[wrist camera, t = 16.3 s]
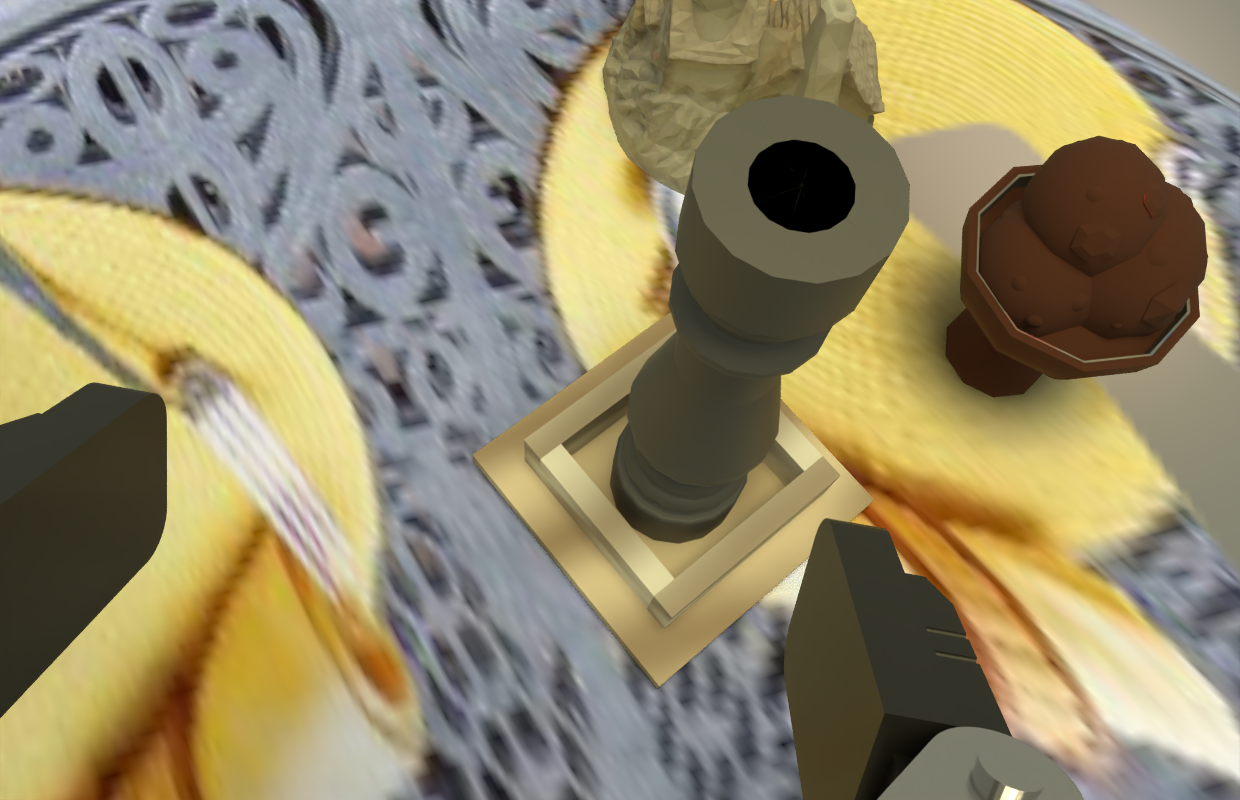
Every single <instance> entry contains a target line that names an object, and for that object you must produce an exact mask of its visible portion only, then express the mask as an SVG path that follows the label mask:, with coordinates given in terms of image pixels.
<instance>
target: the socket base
mask: <svg viewBox="0 0 1240 800" xmlns="http://www.w3.org/2000/svg"><path fill="white" fill-rule="evenodd" d="M676 331H677V330H676V327H675V324H674V321H673V318H672V314H671V312H670V313H669V314H667V315H666V316H664V317H663V318H662V319H660V320H659V321H657V322H656V323H655V324H653V325H652V326H651V327H649V328H648V329H646V330H645V331H644V332H642V333H641V334H639V335H638V336H637V337H635V338H634V339H633V340H631V341H630V342H628V343H627V344H626V345H624V346H623V347H621V348H620V349H619V350H617V351H616V352H615V353H613V354H612V355H610V356H609V357H608V358H606V359H605V360H603V361H602V362H601V363H599V364H598V365H596V366H595V367H594V368H592V369H591V370H590V371H588V372H587V373H585V374H584V375H583V376H581V377H580V378H578V379H577V380H576V381H574V382H573V383H572V384H570V385H569V386H567V387H566V388H565V389H563V390H562V391H560V392H559V393H558V394H556V395H555V396H554V397H552V398H551V399H549V400H548V401H547V402H545V403H544V404H542V405H541V406H540V407H538V408H537V409H536V410H534V411H533V412H531V413H530V414H529V415H527V416H526V417H524V418H523V419H522V420H520V421H519V422H518V423H516V424H515V425H513V426H512V427H511V428H509V429H508V430H506V431H505V432H504V433H502V434H501V435H499V436H498V437H497V438H495V439H494V440H493V441H491V442H490V443H488V444H487V445H486V446H484V447H483V448H481V449H480V450H479V451H477V452H476V453H475V454H473V460H474V463H475V464H476V465H477V466H478V468H479V469H480V470H481V471H482V472H483V474H484V475H485V476H486V477H487V479H488V480H489V481H490V482H491V484H492V485H493V486H494V487H495V489H496V490H497V491H498V492H499V494H500V495H501V496H502V497H503V498H504V500H505V501H506V502H507V503H508V505H509V506H510V507H511V508H512V510H513V511H514V512H515V513H516V515H517V516H518V517H519V518H520V520H521V521H522V522H523V523H524V525H525V526H526V527H527V528H528V529H529V531H530V532H531V533H532V534H533V536H534V537H535V538H536V539H537V541H538V542H539V543H540V544H541V546H542V547H543V548H544V549H545V551H546V552H547V553H548V554H549V556H550V557H551V558H552V559H553V560H554V562H555V563H556V564H557V565H558V567H559V568H560V569H561V570H562V572H563V573H564V574H565V575H566V577H567V578H568V579H569V580H570V582H571V583H572V584H573V585H574V587H575V588H576V589H577V590H578V591H579V593H580V594H581V595H582V596H583V598H584V599H585V600H586V601H587V603H588V604H589V605H590V606H591V608H592V609H593V610H594V611H595V613H596V614H597V615H598V616H599V617H600V619H601V620H602V621H603V622H604V624H605V625H606V626H607V627H608V629H609V630H610V631H611V632H612V634H613V635H614V636H615V637H616V639H617V640H618V641H619V642H620V644H621V645H622V646H623V647H624V648H625V650H626V651H627V652H628V653H629V655H630V656H631V657H632V658H633V660H634V661H635V662H636V663H637V665H638V666H639V667H640V668H641V670H642V671H643V672H644V673H645V675H646V676H647V677H648V678H649V679H650V681H651V682H652V683H653V684H654V686H655V687H656V688H659V687H660V686H661V685H662V684H663V683H664V682H666V681H667V680H668V679H669V678H670V677H671V676H672V675H674V674H675V673H676V672H677V671H678V670H679V669H681V668H682V667H683V666H684V665H685V664H686V663H687V662H689V661H690V660H691V659H692V658H693V657H694V656H696V655H697V654H698V653H699V652H700V651H701V650H702V649H704V648H705V647H706V646H707V645H708V644H709V643H710V642H712V641H713V640H714V639H715V638H716V637H717V636H719V635H720V634H721V633H722V632H723V631H724V630H725V629H727V628H728V627H729V626H730V625H731V624H732V623H734V622H735V621H736V620H737V619H738V618H739V617H740V616H742V615H743V614H744V613H745V612H746V611H747V610H749V609H750V608H751V607H752V606H753V605H754V604H755V603H757V602H758V601H759V600H760V599H761V598H762V597H763V596H765V595H766V594H767V593H768V592H769V591H770V590H772V589H773V588H774V587H775V586H776V585H777V584H778V583H780V582H781V581H782V580H783V579H784V578H785V577H787V576H788V575H789V574H790V573H791V572H792V571H793V570H795V569H796V568H797V567H798V566H799V565H800V564H802V563H803V562H804V561H805V560H806V559H807V558H808V557H809V556H810V553H811V549H812V546H813V542H814V539H815V536H816V533H817V530H818V528H819V525H820V524H821V522H822V521H823V520H824V519H825V518H829V519H835V520H840V521H846V522H850V521H851V520H852V519H853V518H855V517H856V516H857V515H858V514H859V513H860V512H861V511H863V510H864V509H865V508H866V507H867V506H868V505H869V504H871V503H872V502H873V501H874V499H873V498H872V497H871V496H870V495H869V494H868V492H867V491H866V490H865V489H864V488H863V487H862V486H861V485H860V484H859V483H858V482H857V481H856V480H855V479H854V477H853V476H852V475H851V474H850V473H849V472H848V471H847V470H846V469H845V468H844V467H843V466H842V465H841V463H840V462H839V461H838V460H837V459H836V458H835V457H834V456H833V455H832V454H831V453H830V452H829V451H828V449H827V448H826V447H825V446H824V445H823V444H822V443H821V442H820V441H819V440H818V439H817V438H816V437H815V435H814V434H813V433H812V432H811V431H810V430H809V429H808V428H807V427H806V426H805V425H804V424H803V423H802V421H801V420H800V419H799V418H798V417H797V416H796V415H795V414H794V413H793V412H792V411H791V410H790V409H789V407H788V406H787V405H786V404H785V403H784V402H783V401H782V400H781V402H780V418H779V432H778V435H777V437H776V439H775V440H774V442H773V444H772V446H771V448H770V450H769V451H768V453H767V455H766V457H765V458H764V460H763V461H762V463H761V464H759V465H758V466H757V467H755V468H754V469H753V470H751V471H750V472H749V473H748V474H747V483H746V485H745V487H744V488H743V490H742V492H741V494H740V496H739V498H738V499H737V501H736V503H735V505H734V506H733V508H732V509H731V511H730V512H729V514H728V515H727V517H726V518H725V520H724V521H723V523H722V524H720V525H719V526H718V527H717V528H715V529H714V530H713V531H711V532H710V533H709V534H707V535H706V536H705V537H703V538H700V539H696V540H692V541H688V542H684V543H680V544H676V543H669V542H663V541H656V540H652V539H651V538H649V537H647V536H646V535H644V534H642V533H640V532H639V531H637V530H635V529H634V528H632V527H631V526H630V525H629V523H628V522H627V521H626V520H625V518H624V517H623V516H622V514H621V513H620V512H619V511H618V509H617V508H616V505H615V502H614V498H613V494H612V491H611V487H610V478H611V471H612V464H613V459H614V454H615V450H616V446H617V442H618V438H619V436H620V435H621V433H622V431H623V430H624V428H625V427H626V425H627V423H628V422H629V421H628V418H627V413H628V405H629V398H630V391H631V386H632V382H633V381H634V379H635V378H636V376H637V375H638V373H639V371H640V370H641V368H642V367H643V365H644V363H645V362H646V360H647V359H648V358H649V357H650V356H651V355H652V354H653V353H654V352H656V351H657V350H658V349H659V348H660V347H661V346H662V345H663V344H664V343H665V342H666V341H667V340H668V339H669V338H670V337H671V336H672V335H673V334H674V333H675V332H676Z"/></svg>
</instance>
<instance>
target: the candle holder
mask: <svg viewBox="0 0 1240 800" xmlns="http://www.w3.org/2000/svg"><path fill="white" fill-rule="evenodd" d="M909 187H910V184H909V182H908V180H907V177H906V176H905V173H904V170H903V168H902V166H901V163H900V161H899V159H898V157H897V155H896V152H895V150H894V148H892V147H891V145H890V144H889V143H888V142H887V141H886V140H885V139H884V138H883V137H882V136H881V135H880V134H879V133H878V132H877V131H876V130H875V129H874V128H873V127H872V126H871V125H870V124H869V123H868V122H867V121H866V120H864V119H862V118H860V117H858V116H856V115H854V114H852V113H850V112H848V111H846V110H844V109H842V108H840V107H838V106H837V105H835V104H833V103H831V102H829V101H823V100H816V99H810V98H804V97H798V96H792V95H784V96H778V97H772V98H766V99H760V100H754V101H748V102H746V103H745V104H743V105H741V106H740V107H738V108H736V109H735V110H733V111H731V112H730V113H728V114H726V115H725V116H723V117H721V118H720V119H718V120H716V122H715V123H714V125H713V126H712V128H711V129H710V131H709V132H708V133H707V135H706V136H705V138H704V139H703V141H702V142H701V144H700V145H699V147H698V148H697V150H696V153H695V157H694V161H693V165H692V169H691V173H690V177H689V181H688V185H687V189H686V193H685V197H684V201H683V205H682V209H681V213H680V217H679V224H678V232H677V240H676V248H675V252H676V255H677V258H678V261H679V264H678V265H677V267H676V268H675V270H674V271H673V275H672V283H671V291H670V298H669V308H670V311H671V314H672V318H673V321H674V324H675V327H676V330H677V331H676V332H675V333H674V334H673V335H672V336H671V337H670V338H669V339H668V340H667V341H666V342H665V343H664V344H663V345H662V346H661V347H660V348H659V349H658V350H657V351H656V352H654V353H653V354H652V355H651V356H650V357H649V358H648V359H647V360H646V362H645V363H644V365H643V367H642V368H641V370H640V371H639V373H638V375H637V376H636V378H635V379H634V381H633V382H632V386H631V391H630V398H629V405H628V413H627V418H628V421H629V422H628V423H627V425H626V427H625V428H624V430H623V431H622V433H621V435H620V436H619V438H618V442H617V446H616V450H615V454H614V459H613V464H612V471H611V478H610V487H611V491H612V494H613V498H614V502H615V505H616V508H617V509H618V511H619V512H620V513H621V514H622V516H623V517H624V518H625V520H626V521H627V522H628V523H629V525H630V526H631V527H632V528H634V529H635V530H637V531H639V532H640V533H642V534H644V535H646V536H647V537H649V538H651V539H652V540H656V541H663V542H669V543H676V544H680V543H684V542H688V541H692V540H696V539H700V538H703V537H705V536H706V535H707V534H709V533H710V532H711V531H713V530H714V529H715V528H717V527H718V526H719V525H720V524H722V523H723V521H724V520H725V518H726V517H727V515H728V514H729V512H730V511H731V509H732V508H733V506H734V505H735V503H736V501H737V499H738V498H739V496H740V494H741V492H742V490H743V488H744V487H745V485H746V483H747V474H748V473H749V472H750V471H751V470H753V469H754V468H755V467H757V466H758V465H759V464H761V463H762V461H763V460H764V458H765V457H766V455H767V453H768V451H769V450H770V448H771V446H772V444H773V442H774V440H775V439H776V437H777V435H778V432H779V418H780V402H781V375H785V374H789V373H791V372H793V371H794V370H795V369H797V368H798V367H800V366H801V365H802V364H804V363H805V362H807V361H808V360H809V359H811V358H812V357H814V356H815V355H816V354H817V353H818V351H819V349H820V347H821V346H822V344H823V342H824V340H825V338H826V337H827V335H828V333H829V331H830V329H831V328H832V326H833V325H834V324H836V323H837V322H839V321H840V320H841V319H843V318H844V317H846V316H847V315H848V314H850V313H851V312H853V311H854V310H855V308H856V307H857V305H858V303H859V302H860V300H861V299H862V297H863V296H864V294H865V293H866V291H867V290H868V288H869V287H870V285H871V283H872V282H873V280H874V279H875V277H876V276H877V274H878V273H879V271H880V270H881V268H882V267H883V265H884V263H885V262H886V260H887V259H888V257H889V256H890V254H891V253H892V251H893V249H894V247H895V245H896V243H897V242H898V240H899V238H900V236H901V234H902V232H903V231H904V229H905V227H906V225H907V223H908V221H909V189H910V188H909Z"/></svg>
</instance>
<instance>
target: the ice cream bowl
mask: <svg viewBox="0 0 1240 800" xmlns="http://www.w3.org/2000/svg"><path fill="white" fill-rule="evenodd" d="M1207 259H1208V254H1207V248H1206V234H1205V223H1204V221H1203V220H1202V218H1201V217H1200V215H1199V214H1198V212H1197V211H1196V210H1195V208H1194V207H1193V203H1192V200H1191V198H1190V197H1188V196H1187V195H1186V194H1184V193H1183V192H1182V191H1181V189H1180V188H1178V187H1176V186H1173V185H1171V184H1169V183H1167V182H1165V177H1164V176H1163V174H1162V173H1161V171H1160V170H1159V168H1158V167H1157V166H1156V165H1155V164H1154V163H1153V162H1152V161H1151V160H1150V159H1149V158H1148V157H1147V156H1146V155H1145V154H1144V153H1143V152H1142V151H1141V150H1140V149H1139V148H1138V147H1137V146H1136V145H1135V144H1132V143H1128V142H1125V141H1123V140H1115V139H1110V138H1106V137H1102V136H1096V137H1093V138H1089V139H1086V140H1082V141H1077V142H1075V143H1072V144H1068V145H1065V146H1062V147H1061V148H1059V149H1058V150H1056V151H1054V153H1053V154H1052V155H1051V156H1050V157H1049V158H1048V160H1047V161H1046V162H1045V163H1044V164H1043V165H1034V166H1021V167H1013V168H1012V169H1011V170H1010V171H1009V172H1008V173H1007V174H1006V175H1005V176H1004V177H1002V179H1000V180H999V181H998V182H997V183H996V184H995V185H994V186H993V187H992V188H991V189H990V190H989V191H988V192H986V193H985V194H984V195H983V196H982V197H981V198H980V199H979V200H978V201H977V202H976V203H975V204H974V205H973V206H972V207H970V209H969V211H968V214H967V217H966V220H965V223H964V226H963V232H962V256H961V281H960V292H961V300H962V301H963V303H964V304H965V306H966V307H967V308H966V309H965V310H964V311H963V312H962V313H961V314H960V315H959V316H958V317H957V318H956V319H955V320H954V321H953V322H952V323H951V324H950V325H949V326H948V327H947V340H946V357H947V358H948V360H949V361H950V363H951V364H952V366H953V367H954V369H955V370H956V372H957V373H958V375H959V376H960V378H961V379H962V381H963V382H964V383H966V384H968V385H970V386H972V387H974V388H976V389H978V390H980V391H982V392H984V393H986V394H988V395H990V396H992V397H998V396H1007V395H1016V394H1024V393H1025V392H1026V391H1027V390H1028V389H1029V387H1030V386H1031V385H1032V384H1033V383H1034V382H1035V381H1036V380H1037V379H1038V378H1039V377H1040V376H1041V375H1042V374H1045V375H1047V376H1049V377H1051V378H1053V379H1077V378H1086V377H1096V376H1105V375H1114V374H1123V373H1131V372H1137V371H1140V370H1143V369H1146V368H1148V367H1151V366H1154V365H1157V364H1158V363H1159V362H1160V361H1161V360H1162V359H1163V358H1164V357H1165V356H1166V354H1167V353H1168V352H1169V351H1170V350H1171V349H1172V348H1173V346H1174V345H1175V344H1176V343H1177V342H1178V341H1179V339H1180V338H1181V337H1182V336H1183V335H1184V334H1185V333H1186V332H1187V331H1188V330H1189V328H1190V327H1191V326H1192V325H1193V324H1194V323H1195V322H1196V321H1197V319H1198V318H1199V317H1200V312H1199V297H1198V286H1199V285H1200V283H1201V282H1202V281H1203V280H1204V277H1205V272H1206V267H1207Z"/></svg>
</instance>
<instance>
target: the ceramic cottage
mask: <svg viewBox="0 0 1240 800" xmlns="http://www.w3.org/2000/svg"><path fill="white" fill-rule="evenodd" d="M856 13H857V12H856V9H855V7H854V4H853V2H852V0H777V1H776V2H774V3H773V4H771V5H770V0H635V3H634V5H633V6H632V8H631V10H630V12H629V15H628V17H627V19H626V21H625V22H624V24H623V26H622V27H621V29H620V31H619V33H618V35H617V36H614V37H613V38H612V46H611V48H610V51H609V54H608V57H607V59H606V63H605V66H604V68H603V75H604V84H605V88H604V90H606V92H607V97H608V98H607V99H608V102H609V114H610V118H611V121H612V124H613V128H614V130H615V133H616V134H617V136H618V137H617V140H618V142H619V144H620V146H621V148H622V149H623V151H624V152H625V154H626V155H627V157H628V158H629V159H630V160H631V161H632V162H634V163H635V164H636V165H637V166H638V167H639V168H641V169H642V170H643V171H644V172H646V173H647V174H648V175H649V176H650V177H652V178H654V179H655V180H656V181H658V182H660V183H662V184H663V185H665V186H667V187H668V188H670V189H672V190H674V191H677V192H679V193H681V194H684V195H685V193H686V189H687V185H688V181H689V177H690V173H691V169H692V165H693V161H694V157H695V153H696V150H697V148H698V147H699V145H700V144H701V142H702V141H703V139H704V138H705V136H706V135H707V133H708V132H709V131H710V129H711V128H712V126H713V125H714V123H715V122H716V120H718V119H720V118H721V117H723V116H725V115H726V114H728V113H730V112H731V111H733V110H735V109H736V108H738V107H740V106H741V105H743V104H745V103H746V102H748V101H754V100H760V99H766V98H772V97H778V96H784V95H792V96H798V97H804V98H810V99H816V100H823V101H829V102H831V103H833V104H835V105H837V106H838V107H840V108H842V109H844V110H846V111H848V112H850V113H852V114H854V115H856V116H858V117H860V118H862V119H864V120H866V121H867V122H868V123H869V124H870V125H871V126H872V127H873V122H874V116H873V114H877V113H881V112H885V111H884V103H883V102H882V100H881V99H882V96H881V89H880V85H879V81H878V67H877V55H876V43H875V41H874V38H873V36H872V33H871V32H870V31H869V30H868V27H867V26H866V25H865V24H864V23H862V21H861V20H860V19H859V18H858V17H857V16H856Z"/></svg>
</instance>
